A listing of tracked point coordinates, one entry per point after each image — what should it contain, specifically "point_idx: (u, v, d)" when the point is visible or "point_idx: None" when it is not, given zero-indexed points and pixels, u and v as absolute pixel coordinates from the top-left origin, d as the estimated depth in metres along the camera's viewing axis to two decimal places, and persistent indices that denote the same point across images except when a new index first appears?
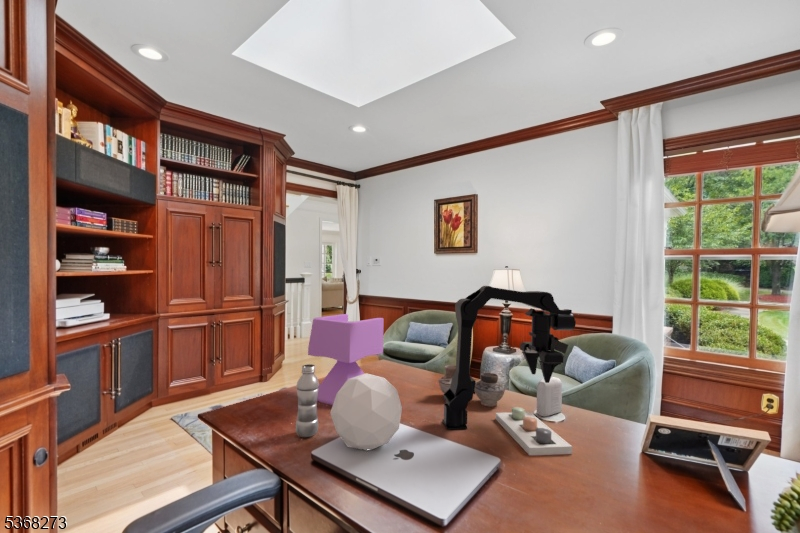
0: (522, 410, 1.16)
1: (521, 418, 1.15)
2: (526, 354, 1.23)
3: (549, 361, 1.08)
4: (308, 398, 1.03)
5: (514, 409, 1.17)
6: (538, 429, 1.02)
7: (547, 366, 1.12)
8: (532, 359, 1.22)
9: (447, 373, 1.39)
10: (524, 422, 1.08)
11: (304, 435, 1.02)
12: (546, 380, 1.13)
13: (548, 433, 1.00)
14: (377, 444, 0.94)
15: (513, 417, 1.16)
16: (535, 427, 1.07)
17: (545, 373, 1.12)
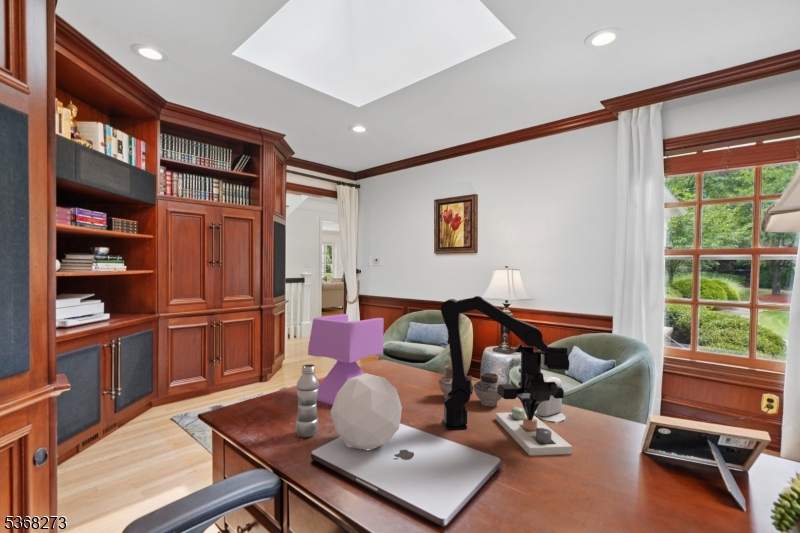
0: (522, 410, 1.16)
1: (521, 418, 1.15)
2: None
3: (498, 392, 1.10)
4: (308, 398, 1.03)
5: (514, 409, 1.17)
6: (538, 429, 1.02)
7: (524, 401, 1.09)
8: (531, 402, 1.09)
9: (447, 373, 1.39)
10: (524, 422, 1.08)
11: (304, 435, 1.02)
12: (527, 416, 1.09)
13: (548, 433, 1.00)
14: (377, 444, 0.94)
15: (513, 417, 1.16)
16: (535, 427, 1.07)
17: (524, 408, 1.10)
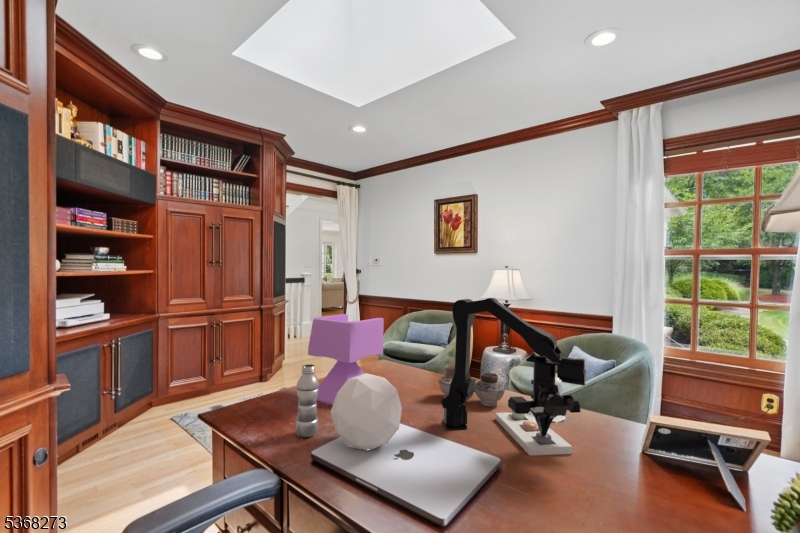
0: None
1: (521, 418, 1.15)
2: None
3: (509, 405, 1.02)
4: (308, 399, 1.03)
5: None
6: (538, 433, 1.02)
7: None
8: (544, 417, 1.01)
9: (447, 373, 1.39)
10: (524, 426, 1.08)
11: (304, 435, 1.02)
12: (540, 432, 1.01)
13: (548, 437, 0.99)
14: (377, 444, 0.94)
15: (513, 417, 1.16)
16: (535, 431, 1.07)
17: (537, 422, 1.02)
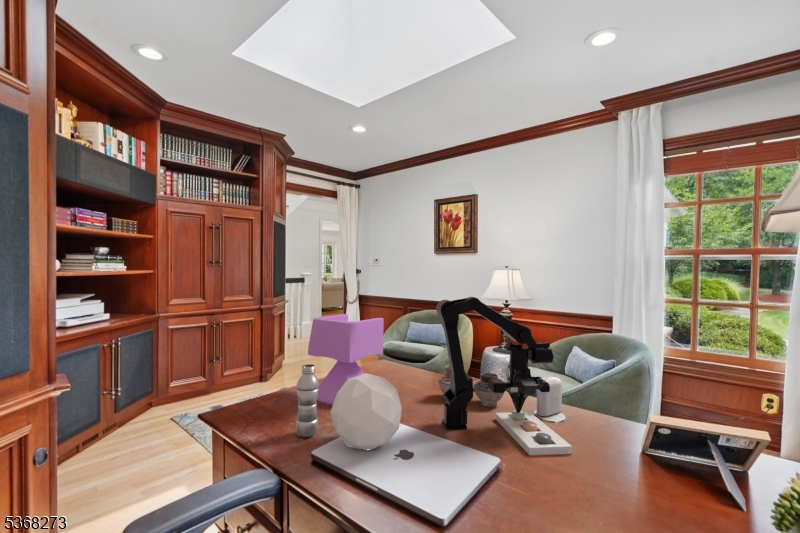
0: (522, 413, 1.16)
1: None
2: None
3: (488, 386, 1.18)
4: (308, 398, 1.03)
5: (514, 412, 1.17)
6: (538, 434, 1.02)
7: (513, 395, 1.17)
8: (519, 396, 1.17)
9: (447, 373, 1.39)
10: (524, 426, 1.08)
11: (304, 435, 1.02)
12: None
13: (548, 438, 0.99)
14: (377, 444, 0.94)
15: None
16: (535, 431, 1.07)
17: None
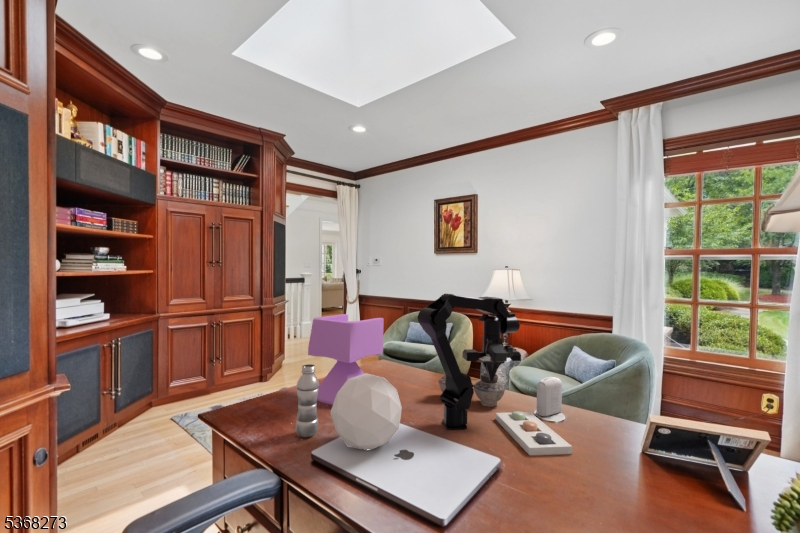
0: (522, 414, 1.16)
1: None
2: (490, 359, 1.25)
3: (463, 356, 1.23)
4: (308, 398, 1.03)
5: (514, 413, 1.17)
6: (538, 434, 1.02)
7: None
8: (492, 365, 1.23)
9: None
10: (524, 426, 1.08)
11: (304, 435, 1.02)
12: (489, 378, 1.22)
13: (548, 438, 0.99)
14: (377, 444, 0.94)
15: None
16: (535, 431, 1.07)
17: (486, 370, 1.23)
